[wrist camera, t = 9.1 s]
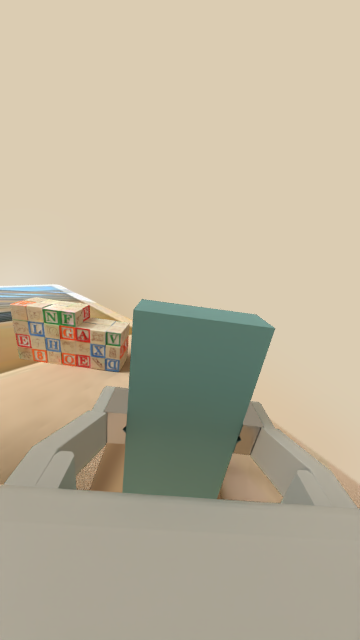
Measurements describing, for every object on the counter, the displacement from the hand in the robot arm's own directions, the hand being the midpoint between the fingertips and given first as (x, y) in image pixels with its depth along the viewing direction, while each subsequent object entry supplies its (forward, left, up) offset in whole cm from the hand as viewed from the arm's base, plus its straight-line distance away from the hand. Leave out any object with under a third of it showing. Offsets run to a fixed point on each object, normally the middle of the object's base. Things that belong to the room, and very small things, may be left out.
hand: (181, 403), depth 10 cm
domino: (0, -1, -7) cm, 7 cm away
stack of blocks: (-21, +29, -18) cm, 40 cm away
